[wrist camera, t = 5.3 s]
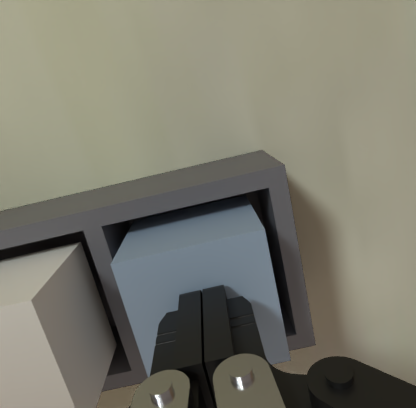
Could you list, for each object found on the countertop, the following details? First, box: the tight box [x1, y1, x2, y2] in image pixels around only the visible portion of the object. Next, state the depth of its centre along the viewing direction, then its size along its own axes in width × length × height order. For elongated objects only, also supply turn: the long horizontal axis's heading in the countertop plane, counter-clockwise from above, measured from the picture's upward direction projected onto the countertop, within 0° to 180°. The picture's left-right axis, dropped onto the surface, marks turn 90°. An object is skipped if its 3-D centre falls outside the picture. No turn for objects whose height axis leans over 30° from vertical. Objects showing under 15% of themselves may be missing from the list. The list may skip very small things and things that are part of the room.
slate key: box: [110, 195, 291, 377], centre depth 14 cm, size 5×5×4 cm
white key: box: [0, 242, 117, 408], centre depth 13 cm, size 5×5×4 cm
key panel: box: [0, 150, 316, 392], centre depth 16 cm, size 22×8×4 cm, turn 103°
